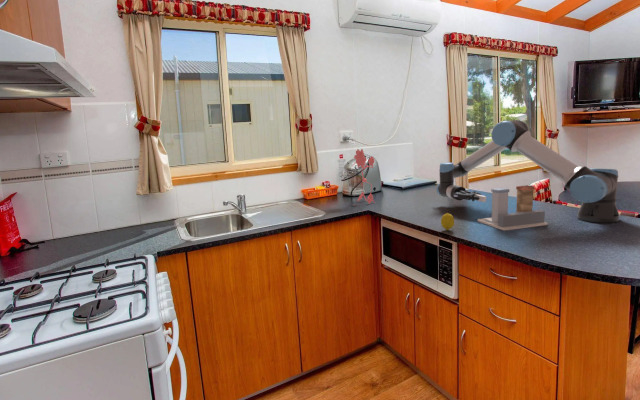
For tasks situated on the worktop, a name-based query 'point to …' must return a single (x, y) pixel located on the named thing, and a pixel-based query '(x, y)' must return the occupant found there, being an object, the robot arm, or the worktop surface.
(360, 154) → the red flowering branch
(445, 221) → the lemon
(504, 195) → the grey tall block
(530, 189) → the beige wooden tall block
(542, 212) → the switch base
